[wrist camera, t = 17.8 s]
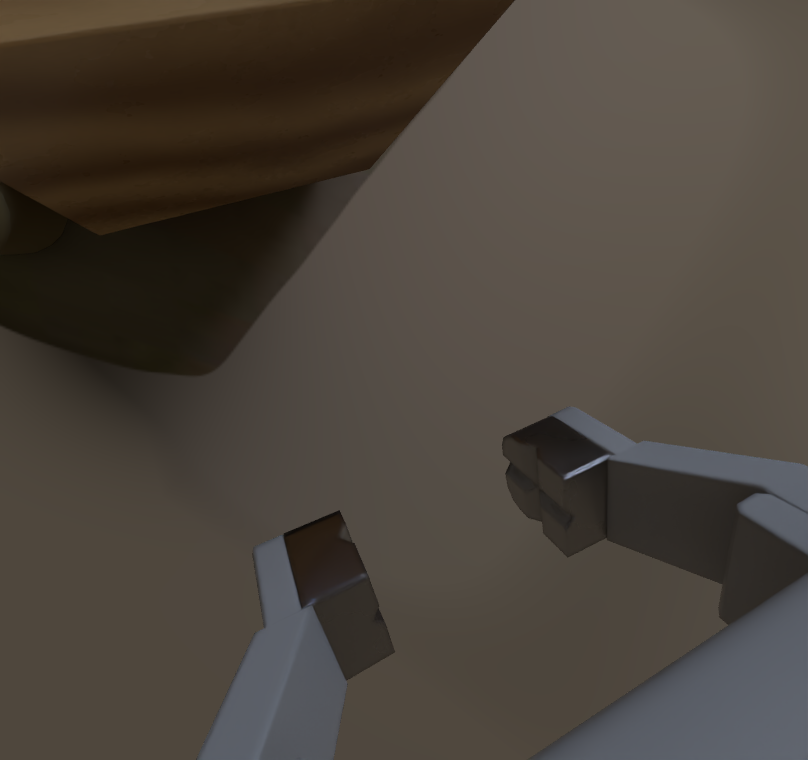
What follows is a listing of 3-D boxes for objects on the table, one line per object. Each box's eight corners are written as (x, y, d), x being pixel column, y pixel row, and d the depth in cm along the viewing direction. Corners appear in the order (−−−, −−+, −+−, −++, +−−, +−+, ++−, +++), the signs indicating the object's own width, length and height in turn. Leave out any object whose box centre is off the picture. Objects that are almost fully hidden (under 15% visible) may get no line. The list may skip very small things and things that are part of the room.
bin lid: (-236, 13, 7) (-202, 74, 7) (535, -73, 10) (543, -31, 10) (90, 218, 21) (98, 236, 21) (365, 153, 24) (370, 169, 24)
